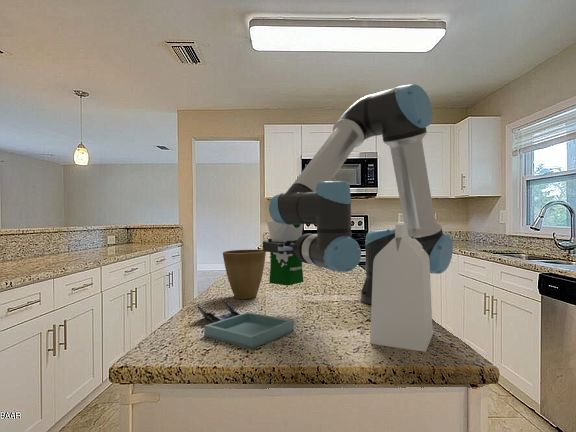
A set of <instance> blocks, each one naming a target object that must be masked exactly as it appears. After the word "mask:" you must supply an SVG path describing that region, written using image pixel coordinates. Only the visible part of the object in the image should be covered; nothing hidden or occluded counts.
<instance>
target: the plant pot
mask: <svg viewBox="0 0 576 432" xmlns="http://www.w3.org/2000/svg"><path fill="white" fill-rule="evenodd" d="M266 254H267V252H264V251H263V249H235V250H234V249H233V250H226V251H222V257H223V262H224V268H225V272H226V277H227V279H228V282H229V287H230V288H231V291H232V293H233V294H232V295H233V296H234V298H235V299H238V300H249V299H250V300H251V299H255V298H256V297H257V295H258V292H259V289H260V287H261V286H260V285H261V282H262V278H263V274H264V269H265V263H266V256H267V255H266Z"/></svg>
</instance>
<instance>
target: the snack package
mask: <svg viewBox="0 0 576 432" xmlns="http://www.w3.org/2000/svg"><path fill="white" fill-rule="evenodd" d="M219 301H220V302H221V301H222V303H223V304H224V305H225V306H226V309H227V311H228V312H229V313H223V314H220V315H217V316H215V315H216V313H215V312H206V311H204V310H203V309H202V307H200V306H199V305H197V309H198V310H199V312H200V314H201V315H202V317H203V318H204V319H208V320H210V321H211V322H212V323H214V322H217V321H220V320H224V319H227V318H230V317H233V316H237V315H240V314H241V313H239V312H237V311H236V310H234V308H233V307H232V306H231V305H230V303H228V302H227V301H226V299H223V300H221V299H220V300H219ZM210 309H212V310H213V307H210Z"/></svg>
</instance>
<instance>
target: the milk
mask: <svg viewBox="0 0 576 432" xmlns="http://www.w3.org/2000/svg"><path fill="white" fill-rule="evenodd" d="M394 229H395V238H393V239H392V240H391V241H390V242H389V243H388V244H387V245H386V246H385V247H384V248H383V249H382V250H381V251H380V252H379V253H378V254H377V255H376V256H375V258H374V261H373V280H372V304H371V308H370V309H371V310H370V312H371V313H370V336H369V344H371V345H377V346H378V345H379V346H386V347H390V348H391V347H392V348H398V349H405V350H412V351H417V352H419V351H420V352H423V353H424V352H427V350H428V348H429V345H430V342H431V340H432V337H433V335H434V332H433V331H434V329H433V309H432V307H433V306H432V291H431V290H432V289H431V287H432V286H431V284H432V283H431V273H430V261H429V255H428V254H427V253H426V251H425V250H424V249H423V247H422V245H421V244H420V243H419V242H418V241H417V240H416V239H415V238H413V239H412V238H411V237H410V236H408V230H407V224H404V223H395V227H394Z"/></svg>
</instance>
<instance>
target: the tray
mask: <svg viewBox="0 0 576 432" xmlns="http://www.w3.org/2000/svg"><path fill="white" fill-rule="evenodd" d="M239 314H240V315H237V316H233V317H230V318H227V319H224V320H220V321H217V322H212V323H211V322H210V323H208V324H205V325H204V326H203V329H204V333H203V334H204V335H203V336H204V337H206V338H210V339H214V340H217V341H221V342H225V343H228V344H231V345H235V346H240V347H242V348H247V349H248V350H249V349H250V350H253V349H256V348H257V347H259V346H262V345H265V344H267V343H269V342H272V341H274V340H277V339H279V338H281V337H284V336H286V335H288V334H290V332H291V333H293V332H294V320H291V319H285V318H281V317H276V316H275V317H274V316H270V315H266V314H261V313H255V312H251V311H247V312H244V313H239ZM292 331H293V332H292ZM285 334H286V335H285ZM283 335H284V336H283Z"/></svg>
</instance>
